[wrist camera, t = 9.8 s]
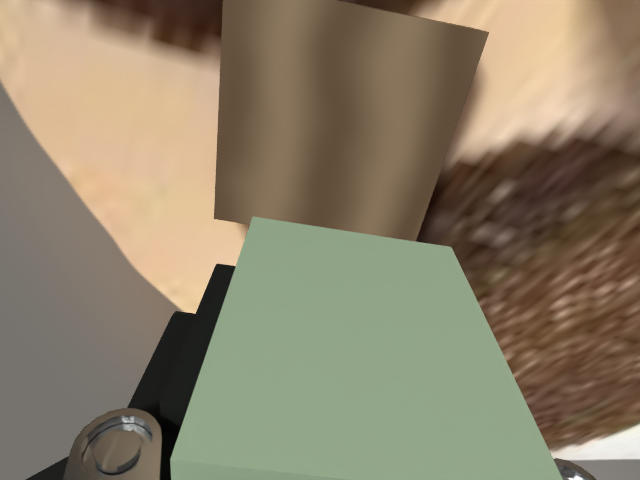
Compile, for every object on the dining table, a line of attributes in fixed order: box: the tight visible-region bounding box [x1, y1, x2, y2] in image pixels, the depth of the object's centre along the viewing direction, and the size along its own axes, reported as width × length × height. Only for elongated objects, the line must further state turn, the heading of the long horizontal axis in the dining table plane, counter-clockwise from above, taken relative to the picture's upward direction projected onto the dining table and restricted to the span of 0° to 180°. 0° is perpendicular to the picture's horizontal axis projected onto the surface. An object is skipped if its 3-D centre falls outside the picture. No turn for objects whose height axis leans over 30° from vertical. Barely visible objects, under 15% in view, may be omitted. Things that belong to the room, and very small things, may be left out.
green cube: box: [170, 217, 563, 480], centre depth 9 cm, size 5×5×6 cm
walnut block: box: [214, 0, 489, 242], centre depth 26 cm, size 14×14×4 cm
